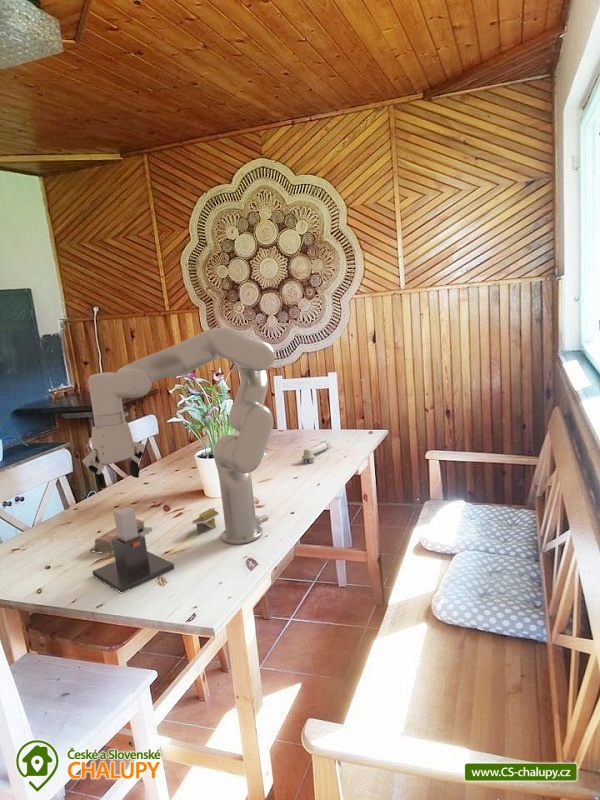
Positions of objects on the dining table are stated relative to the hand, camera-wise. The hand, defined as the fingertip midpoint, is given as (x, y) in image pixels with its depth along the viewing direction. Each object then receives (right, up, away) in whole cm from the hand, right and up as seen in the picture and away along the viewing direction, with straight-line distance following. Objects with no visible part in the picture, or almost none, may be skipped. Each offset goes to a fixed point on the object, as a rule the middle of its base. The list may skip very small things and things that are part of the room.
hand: (119, 482), depth 154 cm
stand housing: (+3, -26, +5) cm, 26 cm away
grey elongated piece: (+56, -3, +101) cm, 116 cm away
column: (+2, -24, +4) cm, 24 cm away
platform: (+19, -20, +29) cm, 41 cm away
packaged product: (-7, -23, +27) cm, 37 cm away
